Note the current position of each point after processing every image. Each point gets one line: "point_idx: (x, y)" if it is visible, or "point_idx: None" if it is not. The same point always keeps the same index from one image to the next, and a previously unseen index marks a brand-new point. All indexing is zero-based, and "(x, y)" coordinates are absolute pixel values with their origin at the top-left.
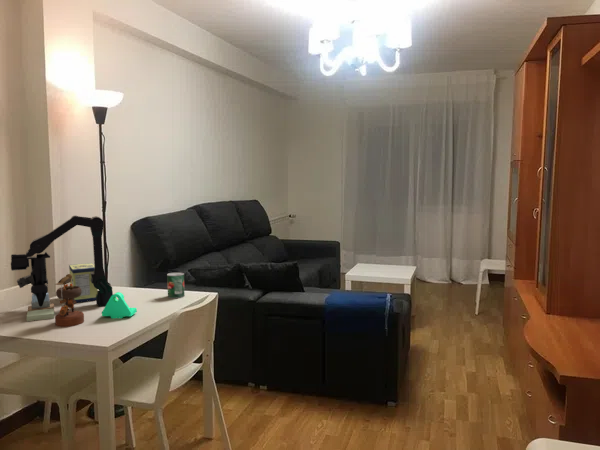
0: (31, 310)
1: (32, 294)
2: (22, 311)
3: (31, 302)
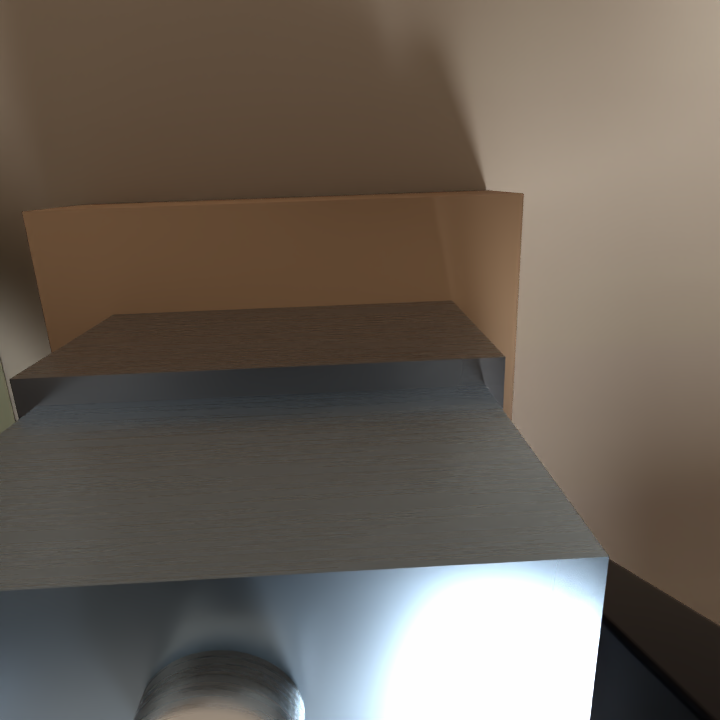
0: (50, 307)
1: (300, 602)
2: (497, 41)
3: (36, 383)
